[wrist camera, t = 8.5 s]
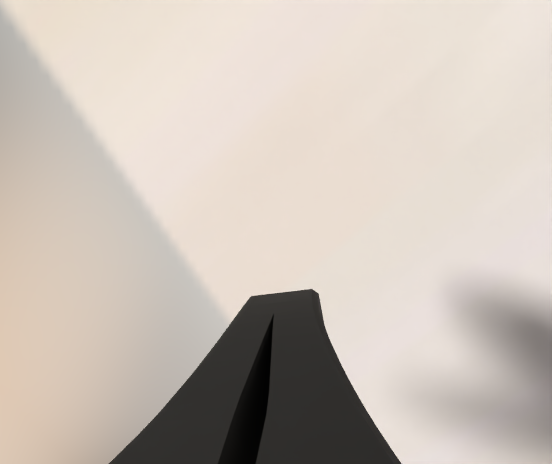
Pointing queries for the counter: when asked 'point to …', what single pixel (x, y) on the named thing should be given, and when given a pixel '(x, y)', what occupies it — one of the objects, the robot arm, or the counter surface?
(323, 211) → the counter surface
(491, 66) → the counter surface
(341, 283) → the counter surface
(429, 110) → the counter surface
